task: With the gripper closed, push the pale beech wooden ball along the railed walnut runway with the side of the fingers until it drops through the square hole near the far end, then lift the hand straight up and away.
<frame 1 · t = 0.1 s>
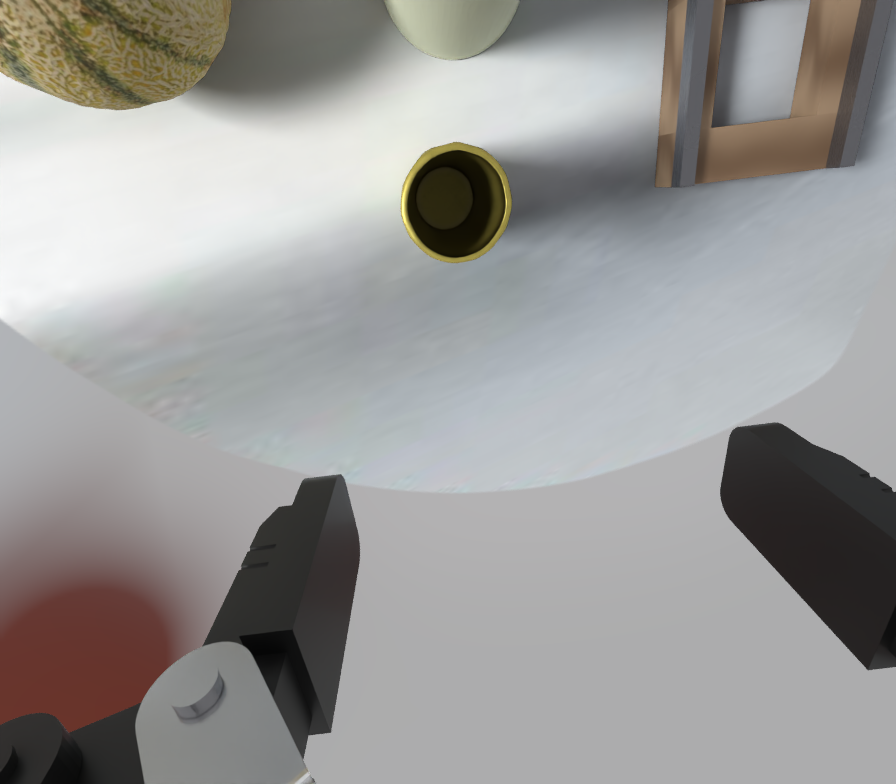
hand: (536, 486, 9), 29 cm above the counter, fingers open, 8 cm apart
vase: (443, 198, 34), on the counter
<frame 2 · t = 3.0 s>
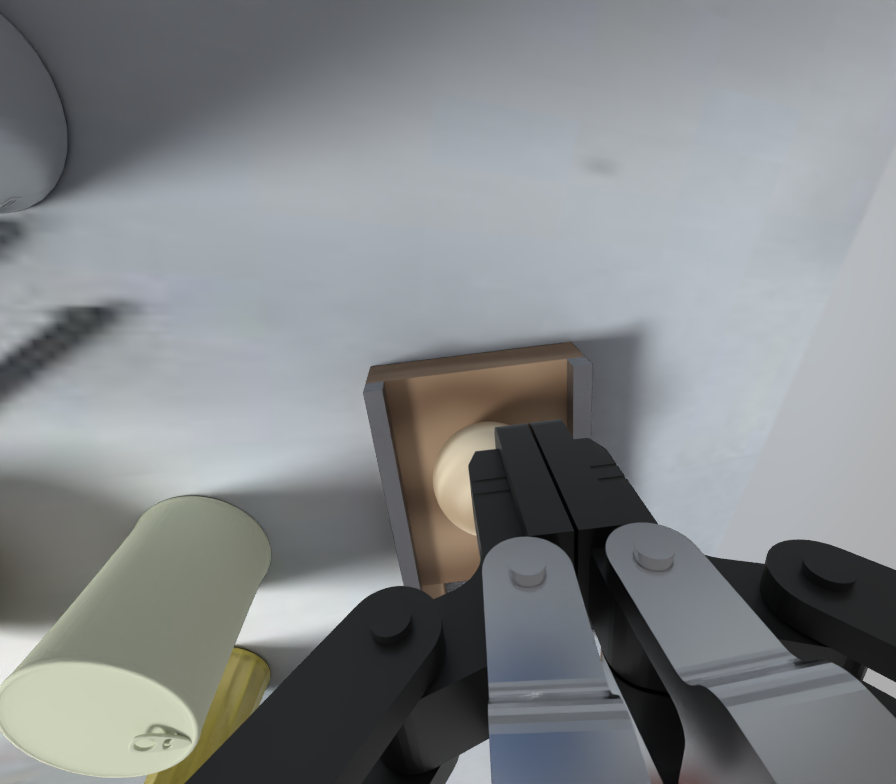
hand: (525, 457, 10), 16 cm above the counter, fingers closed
can: (205, 546, 32), on the counter
ball: (489, 478, 24), point 5 cm above the counter, touching runway
vase: (234, 668, 38), on the counter
runway: (487, 524, 32), on the counter
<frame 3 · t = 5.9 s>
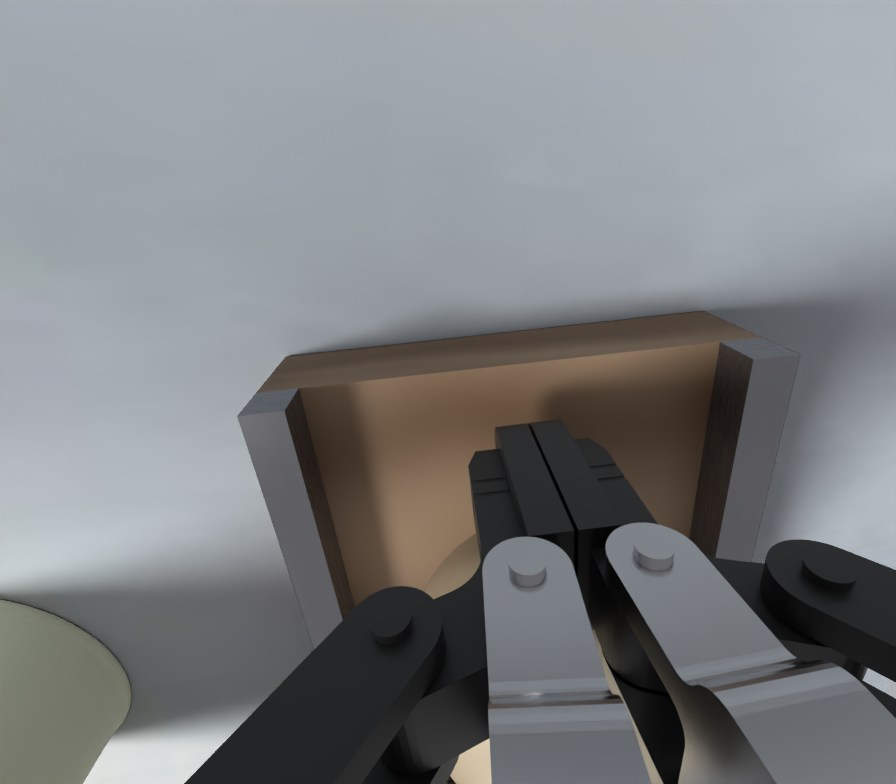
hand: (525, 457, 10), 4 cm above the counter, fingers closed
can: (12, 674, 18), on the counter
ball: (539, 653, 10), point 5 cm above the counter, tilted 18°, touching gripper, runway
runway: (512, 641, 18), on the counter
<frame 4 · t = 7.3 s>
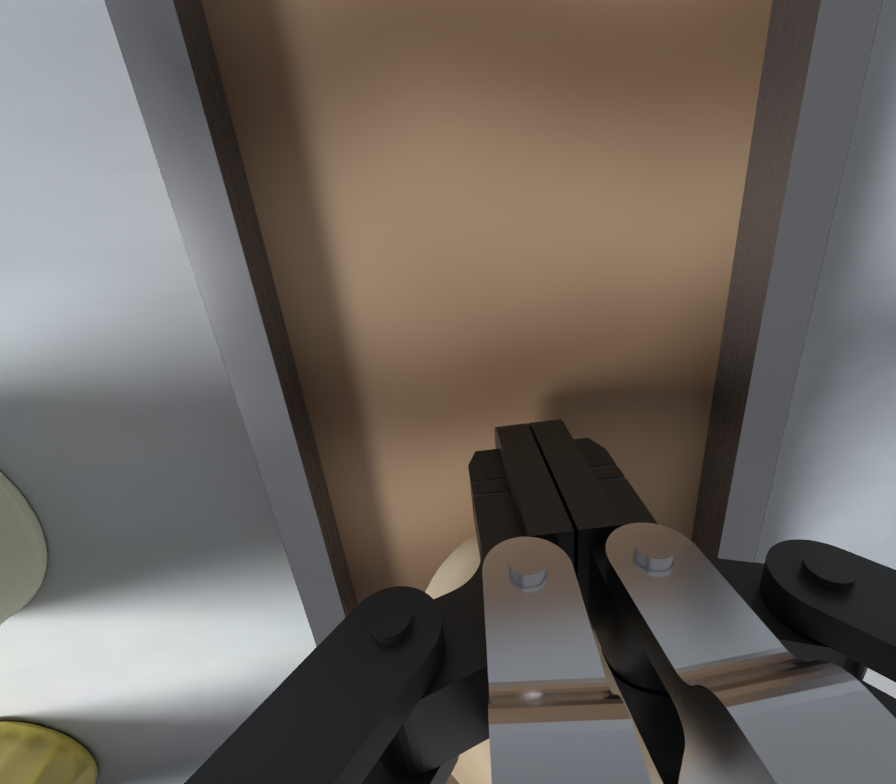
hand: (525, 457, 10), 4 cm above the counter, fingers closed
ball: (541, 652, 10), point 6 cm above the counter, tilted 133°, touching gripper
vase: (30, 755, 20), on the counter
runway: (505, 482, 15), on the counter
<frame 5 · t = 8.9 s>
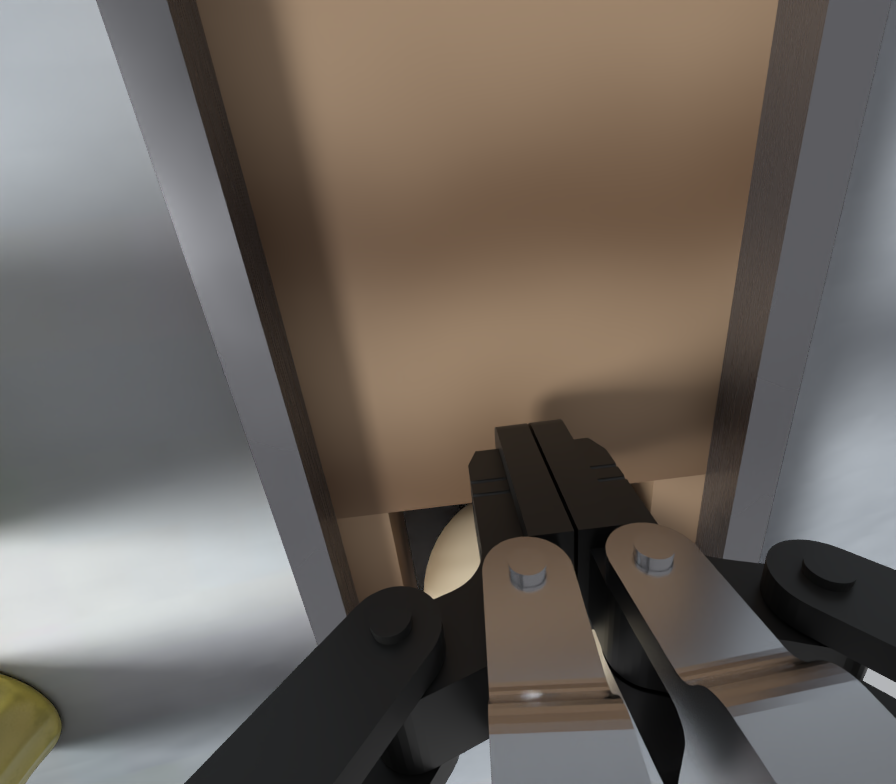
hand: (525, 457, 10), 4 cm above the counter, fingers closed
ball: (528, 593, 13), point 3 cm above the counter, tilted 130°
runway: (501, 379, 13), on the counter
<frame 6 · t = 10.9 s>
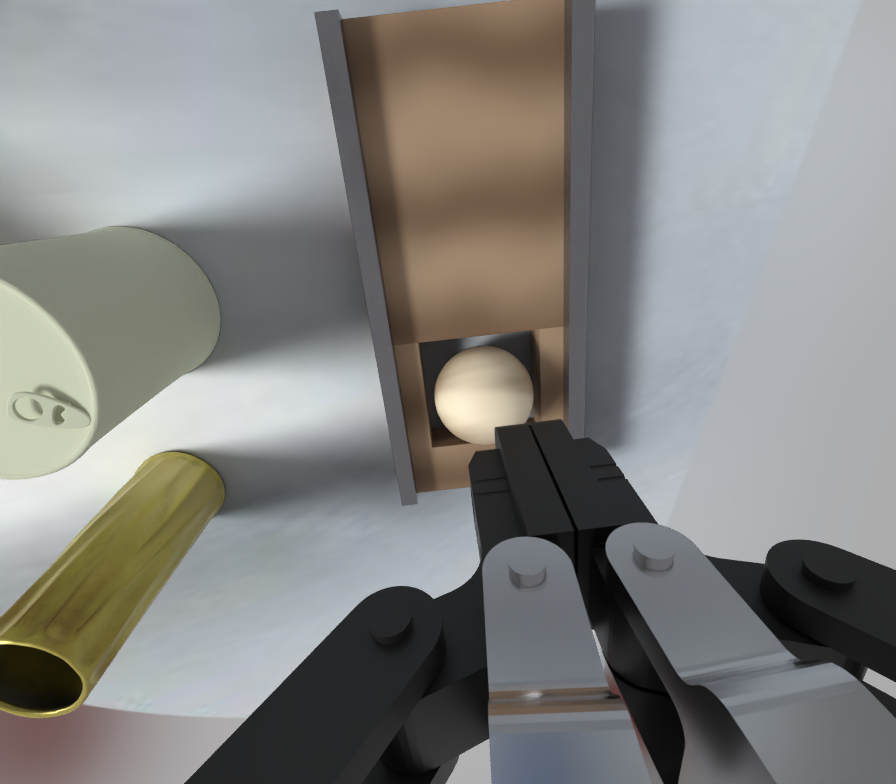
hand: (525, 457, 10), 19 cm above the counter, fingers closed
can: (144, 306, 28), on the counter
ball: (483, 395, 28), point 3 cm above the counter, tilted 119°
vase: (184, 485, 33), on the counter
runway: (471, 286, 28), on the counter
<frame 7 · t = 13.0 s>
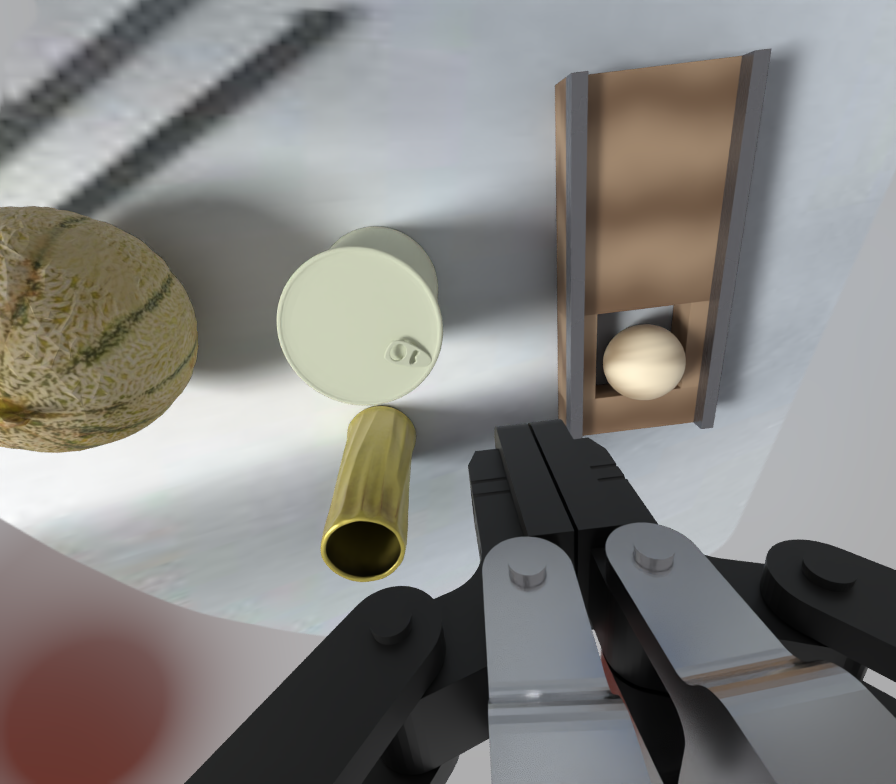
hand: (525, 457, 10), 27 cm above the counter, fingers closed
can: (379, 288, 36), on the counter
ball: (642, 362, 36), point 3 cm above the counter, tilted 107°
cantaloupe: (134, 305, 35), on the counter
vase: (382, 434, 41), on the counter
runway: (632, 270, 36), on the counter
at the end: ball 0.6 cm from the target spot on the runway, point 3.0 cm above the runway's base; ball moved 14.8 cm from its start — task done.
